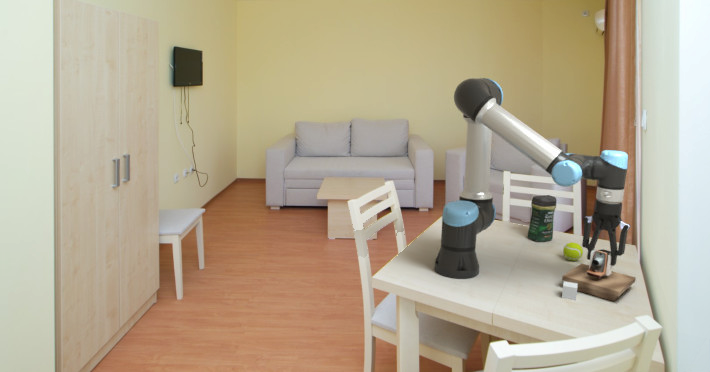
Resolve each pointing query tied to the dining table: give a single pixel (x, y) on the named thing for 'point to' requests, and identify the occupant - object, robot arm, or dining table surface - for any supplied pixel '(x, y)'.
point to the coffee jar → (542, 218)
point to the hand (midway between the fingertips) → (599, 271)
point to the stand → (599, 282)
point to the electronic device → (599, 264)
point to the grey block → (569, 290)
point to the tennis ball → (573, 251)
